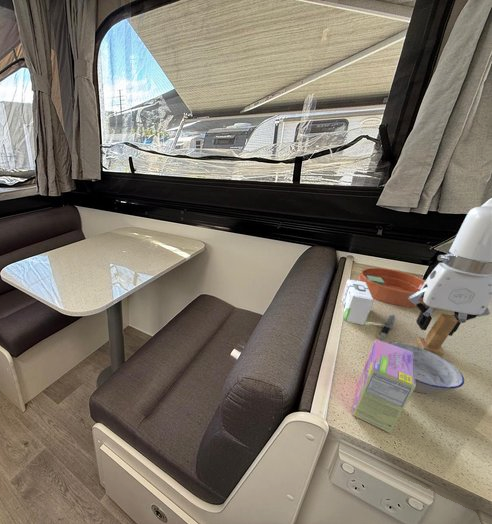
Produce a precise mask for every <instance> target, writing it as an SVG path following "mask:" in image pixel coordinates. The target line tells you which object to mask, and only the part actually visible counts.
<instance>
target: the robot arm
mask: <svg viewBox="0 0 492 524" xmlns="http://www.w3.org/2000/svg"><path fill="white" fill-rule="evenodd" d="M436 259H437V261H441V262H438V264H436V266H435V267H434V268H433V269H432V271H431V272H430V273H429V275H428V276H427V278H426V279H425V282H424V284H423V286H422V288H421V290H420V291H418V292H416V293H415V294H413V295H411V296H409V297H408V299H409V300H410V302H412V303H413V304H414V305H416V306H417V307H416V308H418V309H419V311H420V313H419V315H418V317H417V318H416V325H417V326H418V327H419V328H420V330H422V331H426V330H428V327H429V325H430V324H431V322H432V320H433V317H432V314H433V313H434V312H435V311H436V310H437V309H438V310H443V311H449V312H452V315H454V317H455V318H456V319H457V321H458V322H457V323H456V325H455V326H454V328H453V329H452V331H451V332H450V333H449V335H448V337H449V336H450V337H452V336H453V335H454V333H456V332H457V331H458V329H459V328H460V325H461V324H464V323H466V322H467V321H470V320H472V319H476V318H477V317H485V316H490V314H491V312H490V309H489V308H488V307H489V305H490V302H491V301H492V197H491V198H489V199H488V200H486V201H485V202H484V203H483V204H482V205H481V206H475V207H473V208H471V209H470V210H469V211H468V213H467V214H466V216H465V218H464V220H463V222H462V223H461V226H460V228H459V230H458V232H457V233H456V236H455V238H454V240H453V242H452V244H451V246H450V248H449V250H448V251H446V253H445V254H438V255H437V258H436ZM420 299H423V302H424V303H423V304H422V302H420V301H419V300H420Z"/></svg>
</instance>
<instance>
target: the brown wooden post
mask: <svg viewBox="0 0 492 524" xmlns="http://www.w3.org/2000/svg"><path fill="white" fill-rule="evenodd" d="M457 322H458V321H457V319H456V318H455V317H454V315H453V314H447V313H443V312H441V313H440V314H439V316H438V318H437V319H436V321H435V322H434V324H433V325H432V327H431V329H430V330H429V332H428V333H427V335H426V336H425V337H420V336H417V338H416V339H415V340H416V342H417V344H418V347H419V348H422V349H424V350H427V351H429V352H431V353H434V354H436V355H438V356H441V357H442V356H445V354H446V351H445V350H444V348H443V347H442V345H443V344H444V342H445V341H446V339H447V338H448V337H449V333H450V332H451V331H452V329H453V328H454V326H455V325H456V323H457Z"/></svg>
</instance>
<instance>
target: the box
mask: <svg viewBox="0 0 492 524" xmlns="http://www.w3.org/2000/svg"><path fill="white" fill-rule="evenodd" d="M388 343H389V342H385V341H382V340H378V339H375V340H374V342H373V345H372V348H371V349H370V352H369V355H368V357H367V360H366V362H365V365H364V368H363V370H362V373H361V374H360V377H359V380H358V383H357V387H356V393H355V397H354V402H353V407H352V412H351V414H352V416H354V417H355V418H358V419H359V420H361V421H363V422H365V423H367V424H370V425H371V426H373V427H376V428H377V429H379V430H382V431H384V432H386V433H388V434H391V432H392V431H393V429H394V428H395V426H396V423H397V421H398V419H399V418H400V416H401V414H402V412H403V410H404V409H405V407H406V406H407V403H408V401H409V399H410V398H411V396H412V394H413V393H414V391H413V390H414V389H415V387H416V384H415V371H414V356H413V352H412V351H409V350H406V349H403V348H400V347H397V346H394V345H391V344H388Z"/></svg>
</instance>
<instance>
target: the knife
mask: <svg viewBox="0 0 492 524" xmlns="http://www.w3.org/2000/svg"><path fill="white" fill-rule="evenodd" d="M394 321H395V314H390V315H389V316H388V318H387V321H386V322H384V325H383V324H377V325H376V328H379V327H380V328H382V329H381V331H380V335H377V338H379V339H381V340H385V339H386V338H387V336H388V334H389V332H390V331H392V326H393V323H394Z"/></svg>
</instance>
